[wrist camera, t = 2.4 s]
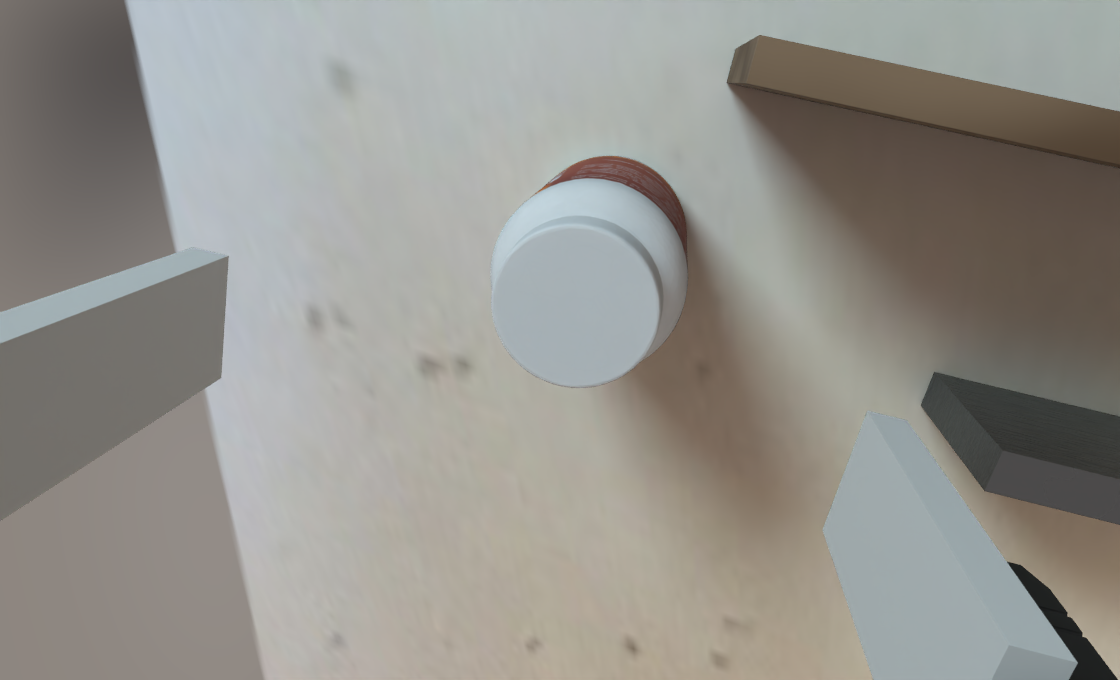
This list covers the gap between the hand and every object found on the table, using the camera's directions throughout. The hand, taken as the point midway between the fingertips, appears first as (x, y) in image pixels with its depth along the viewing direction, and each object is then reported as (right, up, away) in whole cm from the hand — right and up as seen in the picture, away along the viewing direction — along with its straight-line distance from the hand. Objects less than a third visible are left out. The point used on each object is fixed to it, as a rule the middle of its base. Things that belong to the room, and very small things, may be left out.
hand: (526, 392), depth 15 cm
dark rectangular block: (+19, -2, +15) cm, 25 cm away
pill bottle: (+3, +5, +16) cm, 17 cm away
